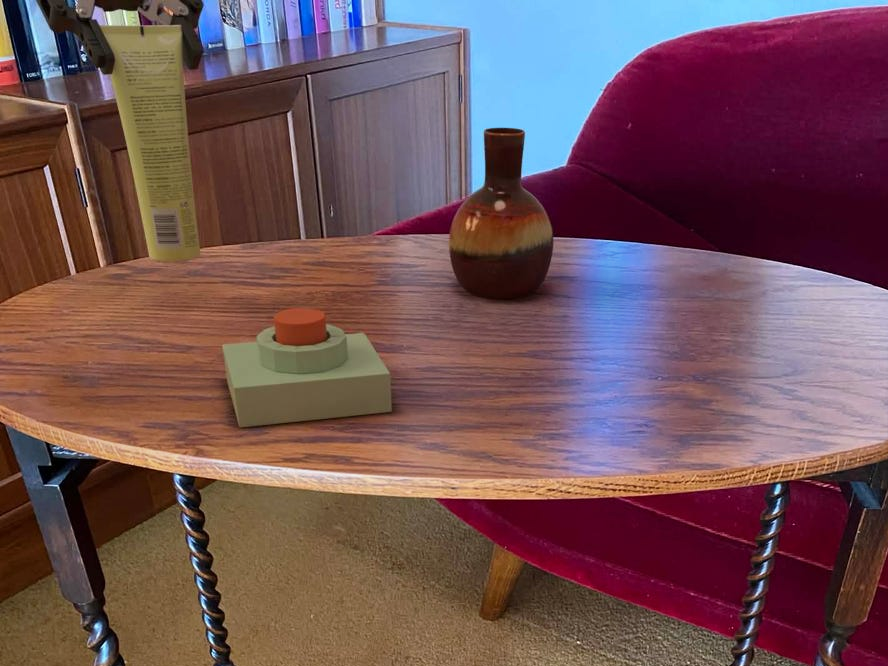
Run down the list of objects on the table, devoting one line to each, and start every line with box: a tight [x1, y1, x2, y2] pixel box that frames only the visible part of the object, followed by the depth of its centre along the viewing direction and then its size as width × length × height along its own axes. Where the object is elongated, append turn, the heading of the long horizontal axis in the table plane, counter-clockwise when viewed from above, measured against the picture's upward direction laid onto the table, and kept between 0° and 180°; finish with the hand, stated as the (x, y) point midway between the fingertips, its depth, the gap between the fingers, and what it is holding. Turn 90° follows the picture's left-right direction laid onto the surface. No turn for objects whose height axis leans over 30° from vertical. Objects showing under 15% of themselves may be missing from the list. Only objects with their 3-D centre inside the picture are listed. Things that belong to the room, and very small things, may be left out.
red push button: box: [273, 307, 327, 346], centre depth 76 cm, size 4×4×2 cm
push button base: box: [221, 323, 393, 429], centre depth 78 cm, size 12×10×5 cm
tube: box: [99, 24, 201, 263], centre depth 90 cm, size 6×5×20 cm
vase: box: [448, 127, 554, 300], centre depth 100 cm, size 11×11×15 cm
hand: (154, 65), depth 85 cm, fingers closed on tube, 7 cm apart
